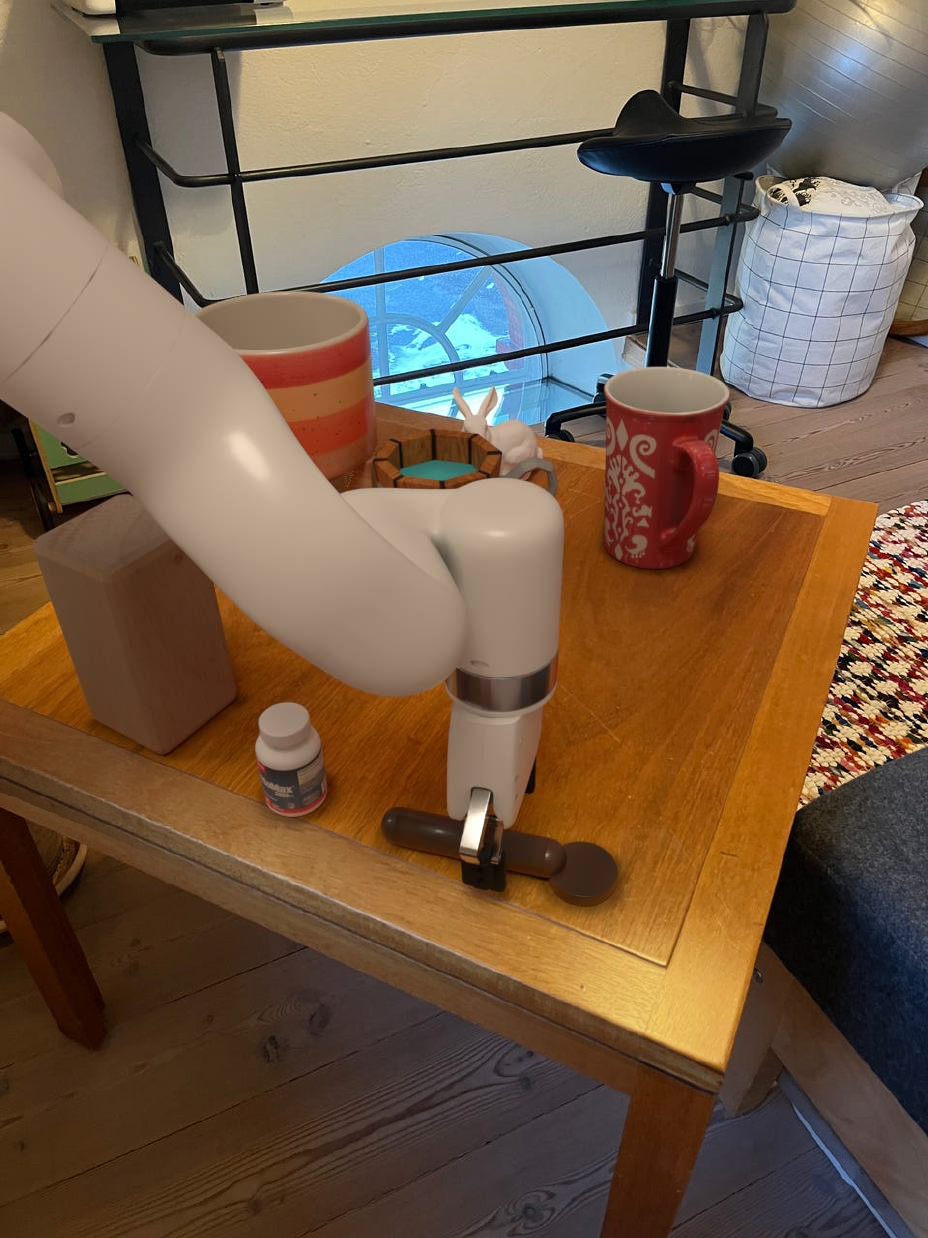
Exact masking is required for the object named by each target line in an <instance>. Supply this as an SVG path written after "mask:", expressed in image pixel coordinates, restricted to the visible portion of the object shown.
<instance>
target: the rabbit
mask: <svg viewBox="0 0 928 1238" xmlns="http://www.w3.org/2000/svg"><path fill="white" fill-rule="evenodd" d="M452 396H453V398H454V401H455V403H456V406H457V410H458V411H459V413H460V414H462V416H463V417H464V421H463V424H462V425H463V426H462V429H461V432H467V433H476V434H479V435H480V436H482V437H483V438H484V439H486V440H487V441H488V442H490V443H491V444H492V445H494V446H495V447H496V448H497V449H499V450H500V451H501V452H502V459H501V466H500V473H499V476H500V475H506V474H507V473H508V472H510V471H511V470H512V469H513V468H514V467H515V466H516V465H517V464H518V463H519V462H521V461H523V460H526V459H528V458H531V457H534V456H535V457H538V458H541V459H544V450H543V448H542V447H540V446H538V439H537V437H536V434H535V432H534V431H533V428H531V427H530V426H529V425H528V424H526V423H525V422H523V421H521V420H518V419H507V420H503V421H500V422H499V423H497V424H495V425H492V426H489V425H488V420H487V416H488V415H489V414H490V413H491V411H492V410H493V409H494V408H495V407H496V406H497V404H498V400H499V397H498V393H497V390H496V387H495V385H494V384H493V385H492V386H491V387H490V390H489V391H488V393H487V394H486V396H485V397H484V399H483V400H482V402H481V404H480V406H479V408H478V410H477V413H476V414H473V413H472V410H471V408H470V405H469V404H468V403H467V401H466V400H465V399H464V398H463V396H462V394H461V392H460V389H459V388H458V387H457V386H455V387H454V388H453V390H452ZM531 473H532V471H531V472H528V473H526V474H525V475H524V476H523V477H522V478H521V479H520V480H524V481H527V480H528V479H529V478H530V477H531Z"/></svg>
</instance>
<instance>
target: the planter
mask: <svg viewBox="0 0 928 1238" xmlns="http://www.w3.org/2000/svg"><path fill="white" fill-rule="evenodd" d="M193 314H194V315H195V316H196V317H197V318H198V319H199V320H200V321H201V322H203V323H204V324H205V325H206V326H207V327H209V328H210V329H211V330H212V331H213V332H215V333H216V334H217V335H218V336H219V337H221V338H222V339H223V340H224V341H225V342H226V343H227V344H228V345H229V346H231V347H232V348H233V349H234V350H235V352H236V353H237V354H238V355H239V356H240V357H241V358H242V359H243V361H244V362H245V363H246V364H247V365H248V367H249V368H250V369H251V371H252V372H253V373H254V374H255V376H256V377H257V378H258V379H259V381H260V382H261V384H262V385H263V386H264V388H265V389H266V391H267V392H268V394H269V395H270V397H271V398H272V400H273V402H274V403H275V405H276V407H277V408H278V410H279V411H280V413H281V415H282V416H283V418H284V419H285V421H286V423H287V424H288V426H289V428H290V429H291V431H292V432H293V434H294V436H295V437H296V439H297V440H298V441H299V443H300V444H301V446H302V447H303V449H304V450H305V452H306V453H307V454H308V456H309V457H310V458H311V460H312V461H313V462H314V464H315V465H316V466H317V468H318V469H319V470H320V471H321V472H322V474H323V475H324V476H325V477H326V479H327V480H328V481H329V482H330V483H331V485H332V486H333V487H334V488H335V489H336V490H337V491H338V492H339V494H340V493H343V492H347V491H351V490H356V489H364V488H378V483H377V477H376V473H375V468H374V463H373V459H374V458H375V457H376V456H372V455H373V454H374V453H375V451H376V449H377V446H378V427H377V426H378V424H377V423H378V422H377V411H376V410H377V409H376V399H375V388H374V385H375V384H374V376H373V375H374V373H373V358H372V356H373V355H372V343H371V342H372V341H371V331H370V320H369V316H368V313H367V311H366V310H365V309H364V308H363V307H362V306H361V305H360V304H358V303H357V302H356V301H353V300H351V299H348V298H346V297H343V296H341V295H335V294H329V293H323V292H315V291H302V290H301V291H300V290H299V291H297V290H295V291H294V290H293V291H292V290H288V291H284V290H283V291H269V292H260V293H253V294H251V293H250V294H246V295H240V296H236V297H231V298H228V299H224V300H221V301H216V302H214V303H211V304H209V305H207V306H205V307H202V308H200V309H198V310H197V311H195V312H193ZM351 471H353V473H352V477H351V480H350V484H349V486H348V487H347V486H346V485H347V484H346V476H345V475H346V474H347V473H350V472H351Z"/></svg>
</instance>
